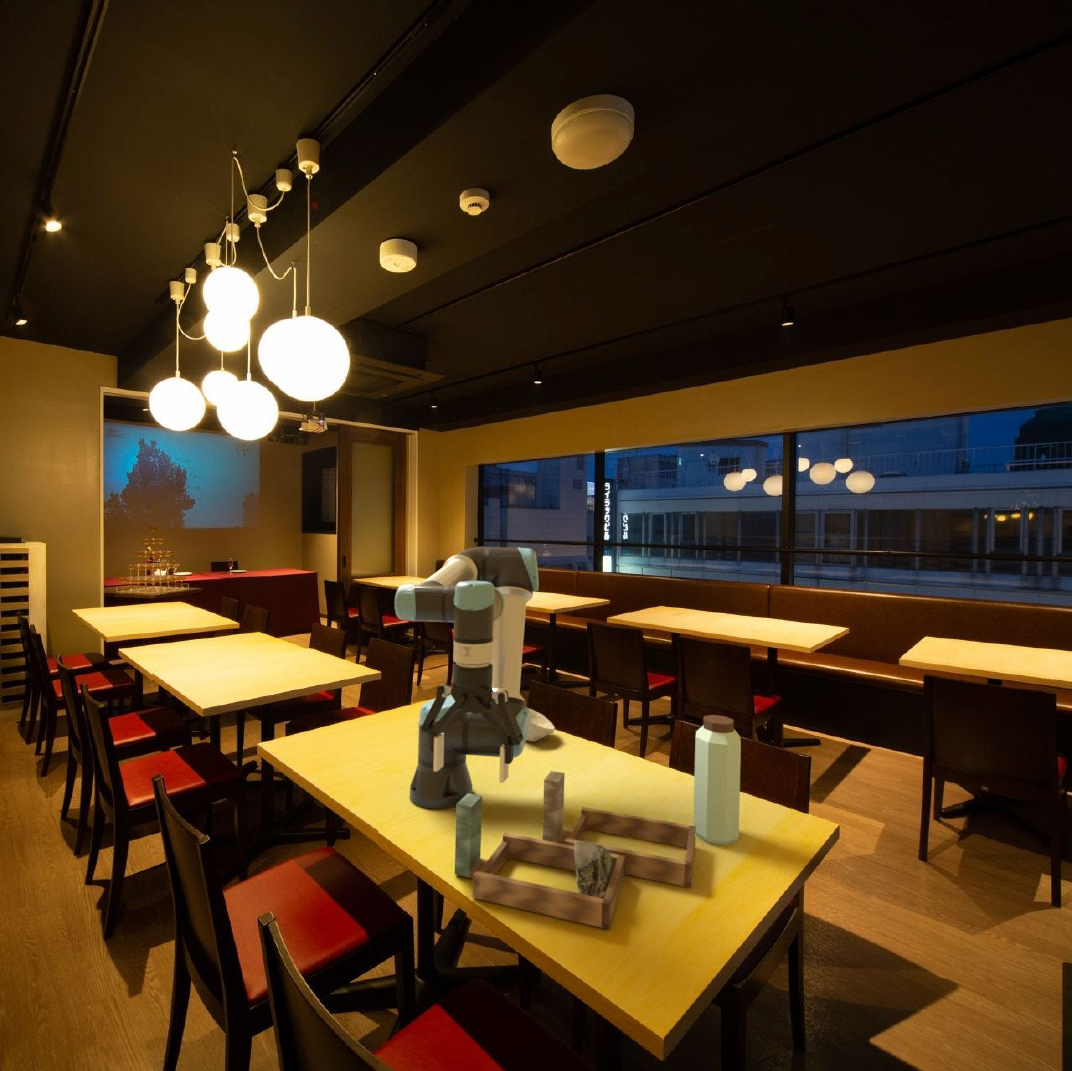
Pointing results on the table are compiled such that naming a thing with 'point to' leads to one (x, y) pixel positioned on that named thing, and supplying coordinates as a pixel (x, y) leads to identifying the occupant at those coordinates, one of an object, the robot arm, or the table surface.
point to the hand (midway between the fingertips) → (470, 774)
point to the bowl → (538, 726)
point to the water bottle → (717, 781)
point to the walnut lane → (520, 891)
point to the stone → (592, 868)
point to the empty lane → (625, 826)
